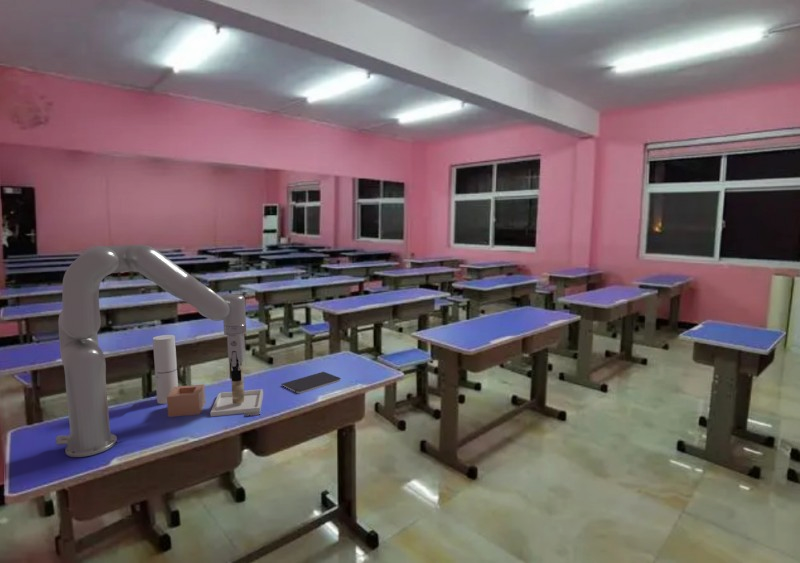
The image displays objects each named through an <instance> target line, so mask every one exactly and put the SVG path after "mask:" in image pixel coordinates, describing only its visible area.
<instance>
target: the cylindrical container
mask: <svg viewBox="0 0 800 563" xmlns="http://www.w3.org/2000/svg"><path fill="white" fill-rule="evenodd" d="M152 348H153V360H154V376H155V389H156V403H158V404H160V405H167V396H168V395H169V393H170V392H171V391H172V389H173V388H174V387H177V386H179V380H178V365H177V364H178V363H177V362H178V361H177V350H176V335H174V334H162V335H156V336H154V337H152Z"/></svg>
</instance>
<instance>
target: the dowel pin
mask: <svg viewBox="0 0 800 563" xmlns="http://www.w3.org/2000/svg"><path fill="white" fill-rule="evenodd" d="M240 370H241V381H232V377H231V376H230V377H231V379H230V380H231V392H232V401H233V403H235V404H238V403H242V402H244V391H245V389H244V388H245V386H244V385H245V384H244V368H243V364H242V365H240Z"/></svg>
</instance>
